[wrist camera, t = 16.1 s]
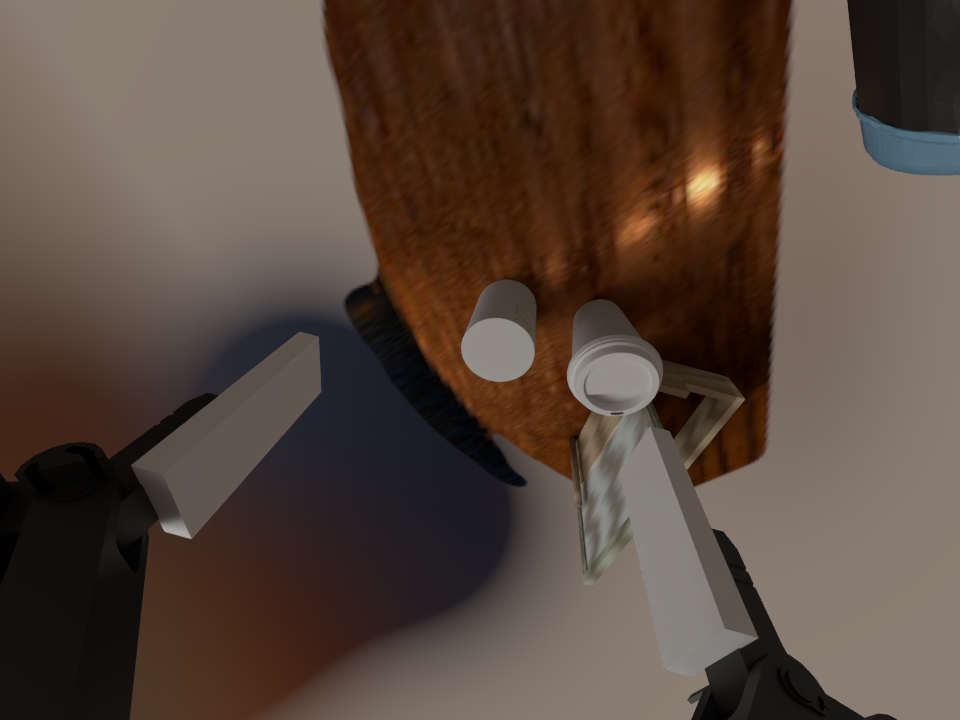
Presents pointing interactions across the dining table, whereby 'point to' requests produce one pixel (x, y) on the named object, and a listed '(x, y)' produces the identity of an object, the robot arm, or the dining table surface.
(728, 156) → the dining table surface
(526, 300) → the white cylinder
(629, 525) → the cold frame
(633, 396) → the coffee cup
